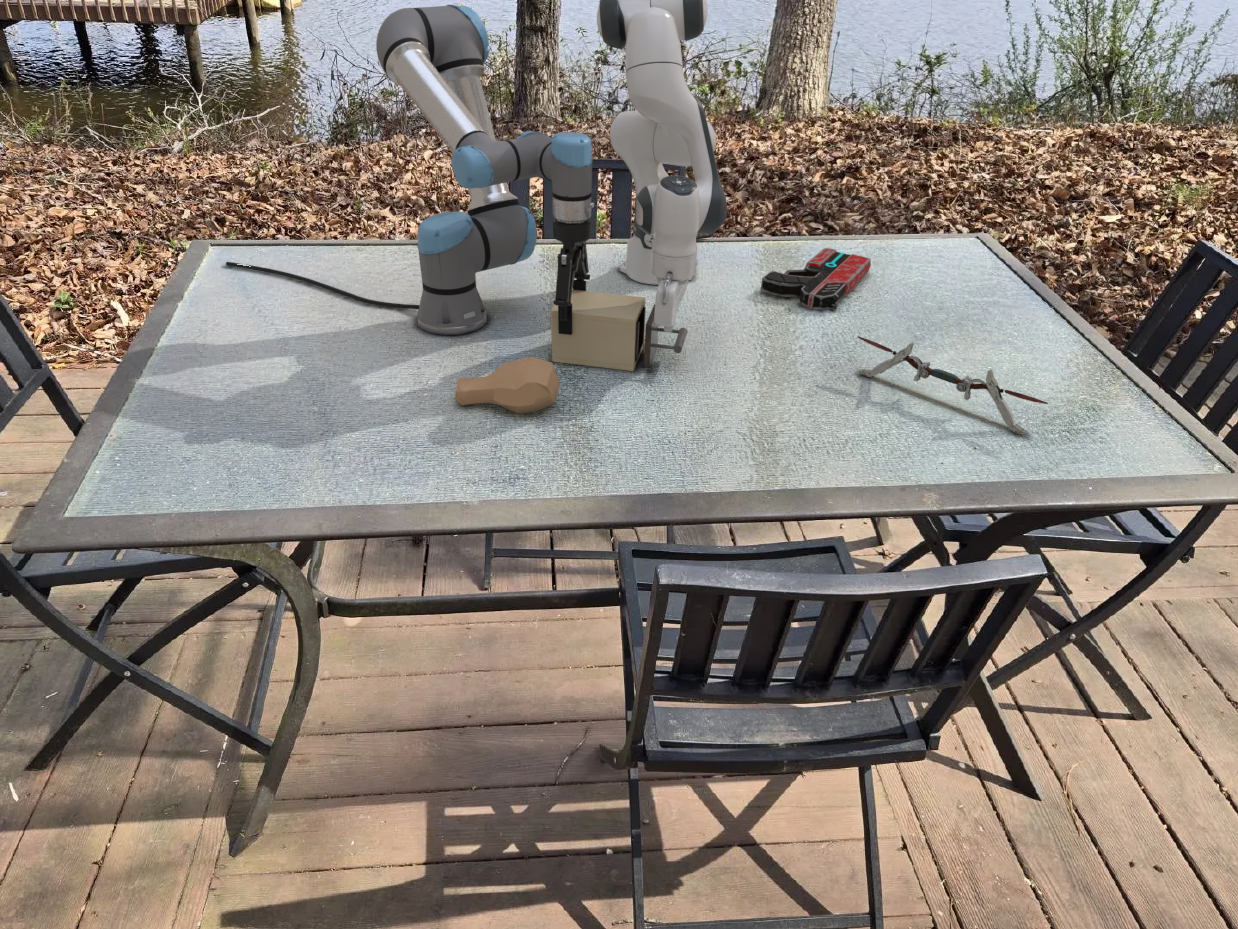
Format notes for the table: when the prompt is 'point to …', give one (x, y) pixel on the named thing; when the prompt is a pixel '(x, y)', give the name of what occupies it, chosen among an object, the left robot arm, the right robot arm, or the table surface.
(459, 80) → the left robot arm
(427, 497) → the table surface
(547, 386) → the squash
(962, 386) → the bow
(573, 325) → the tan box
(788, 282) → the gun
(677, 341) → the drawer
